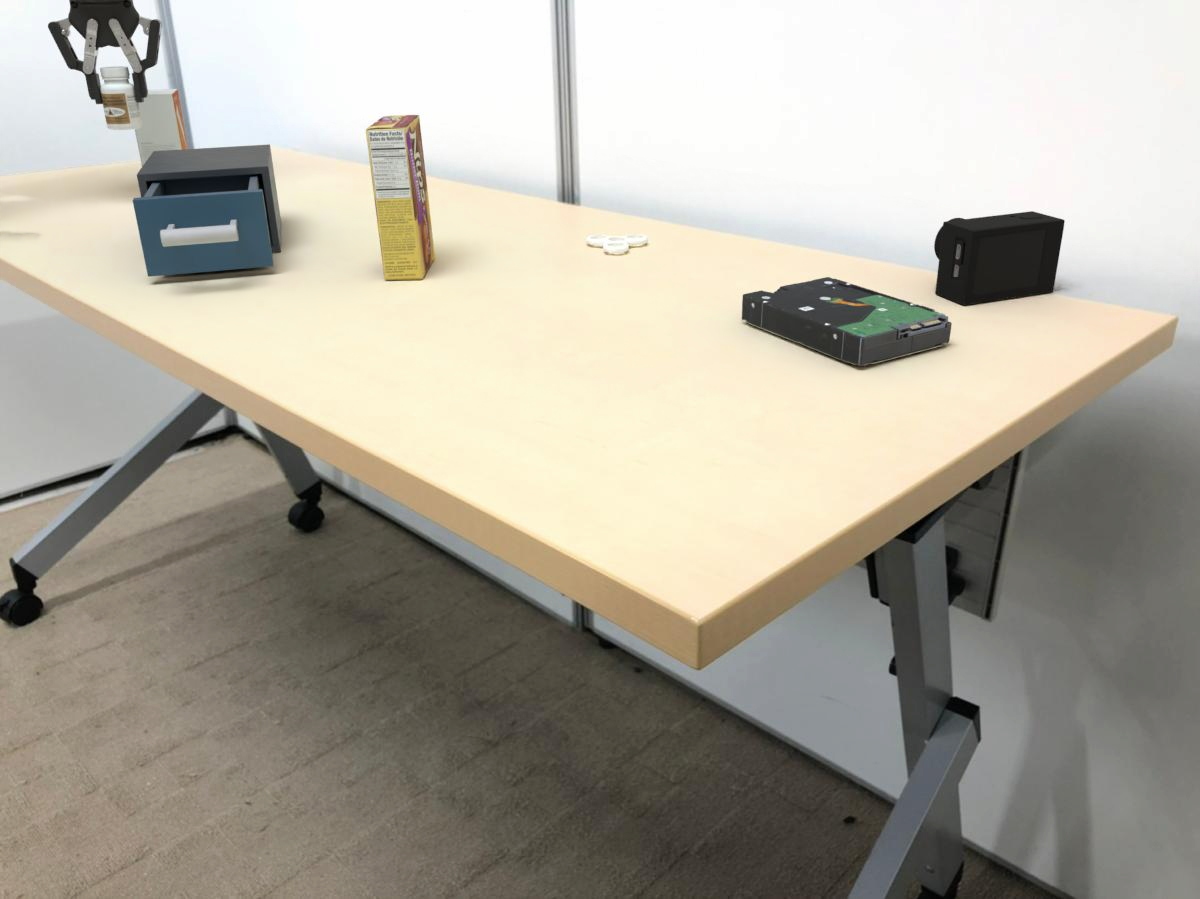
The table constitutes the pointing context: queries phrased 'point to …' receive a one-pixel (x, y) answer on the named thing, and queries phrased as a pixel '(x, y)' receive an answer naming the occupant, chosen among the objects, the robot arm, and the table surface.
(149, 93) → the small box
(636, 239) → the fidget spinner
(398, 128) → the candy box
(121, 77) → the pill bottle
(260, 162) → the drawer cabinet
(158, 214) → the blue drawer
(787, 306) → the disk drive
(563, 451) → the table surface
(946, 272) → the digital camera
